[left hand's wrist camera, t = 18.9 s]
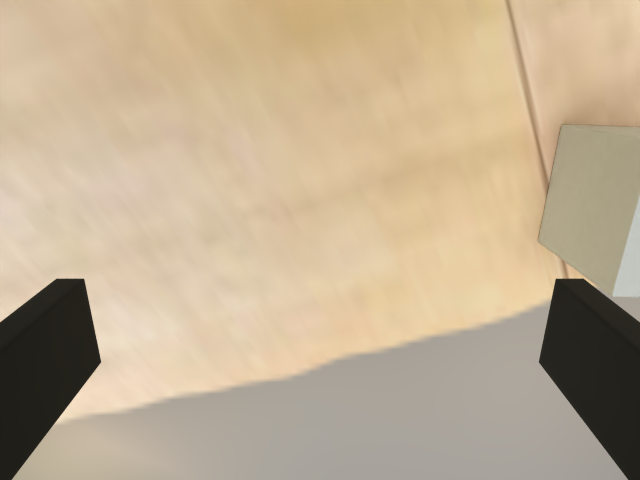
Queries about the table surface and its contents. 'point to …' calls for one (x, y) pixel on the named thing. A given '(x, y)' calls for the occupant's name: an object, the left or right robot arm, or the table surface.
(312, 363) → the table surface
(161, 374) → the table surface
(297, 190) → the table surface
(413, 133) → the table surface
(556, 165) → the grey rectangular block
